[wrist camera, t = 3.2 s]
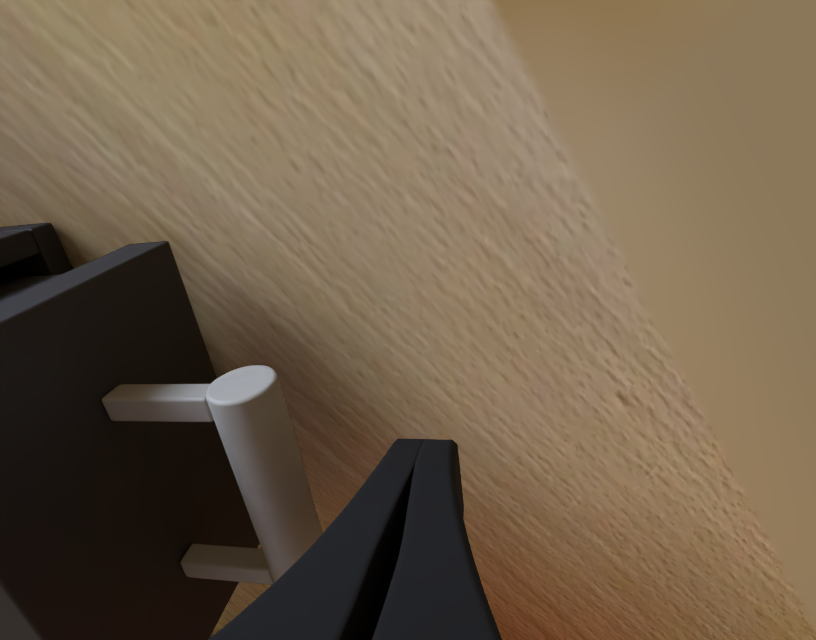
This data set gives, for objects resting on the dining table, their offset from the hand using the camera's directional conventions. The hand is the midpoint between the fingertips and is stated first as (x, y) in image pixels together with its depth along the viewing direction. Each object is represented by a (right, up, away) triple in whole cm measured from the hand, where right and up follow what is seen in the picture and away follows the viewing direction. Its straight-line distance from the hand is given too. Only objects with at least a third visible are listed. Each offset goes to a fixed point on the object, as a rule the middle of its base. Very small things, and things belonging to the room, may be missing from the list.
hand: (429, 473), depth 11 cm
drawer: (-9, +1, +4) cm, 10 cm away
